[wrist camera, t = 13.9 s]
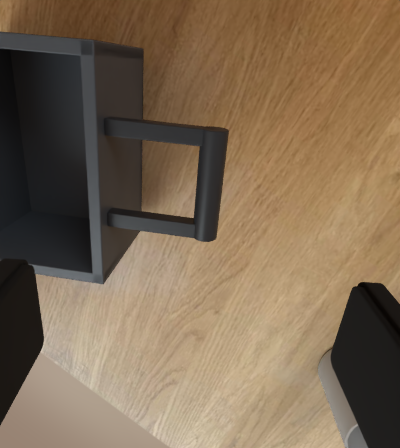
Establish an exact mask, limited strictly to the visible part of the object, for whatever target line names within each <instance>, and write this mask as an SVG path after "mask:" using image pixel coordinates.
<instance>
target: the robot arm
mask: <svg viewBox="0 0 400 448" xmlns="http://www.w3.org/2000/svg"><path fill="white" fill-rule="evenodd" d="M43 342H44V334H43V327H42V320H41V313H40V305H39V298H38V291H37V284H36V276H35V270H34V267H33V266H32V265H29V264H28V262H27V260H25V259H10V258H4V259H2V260H1V261H0V425H1V423H2V421H3V419H4V418H5V416H6V414H7V412H8V410H9V408H10V407H11V405H12V403H13V401H14V399H15V397H16V395H17V394H18V392H19V390H20V388H21V386H22V384H23V382H24V381H25V379H26V377H27V375H28V373H29V371H30V370H31V368H32V366H33V364H34V362H35V360H36V359H37V357H38V355H39V353H40V351H41V349H42V346H43ZM331 365H332V368H333V370H334V372H335V374H336V377H337V379H338V381H339V383H340V386H341V388H342V390H343V392H344V395H345V397H346V399H347V401H348V404H349V406H350V408H351V410H352V413H353V415H354V417H355V419H356V422H357V424H358V426H359V429H360V431H361V433H362V435H363V438H364V440H365V442H366V444H367V447H368V448H400V304H399V303H398V302H397V300H396V299H395V298H394V297H393V296H392V294H391V293H390V292H389V291H388V290H387V288H386V287H385V286H384V285H383V284H381V283H369V282H361V283H359V284H358V286H357V287H356V286H355V287H353V288H352V290H351V293H350V296H349V299H348V302H347V305H346V308H345V312H344V315H343V318H342V321H341V324H340V327H339V330H338V333H337V336H336V339H335V342H334V345H333V349H332V352H331Z"/></svg>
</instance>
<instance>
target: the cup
mask: <svg viewBox="0 0 400 448" xmlns="http://www.w3.org/2000/svg"><path fill="white" fill-rule="evenodd" d="M332 349H333V348H332ZM332 349H331V350H329V351H328V352H327V353H326V354H325V355H324V356H323V357H322V359H321V360H320V363H319V366H318V375H319V378H320V381H321V384H322V386H323V389H324V392H325V394H326V397H327V400H328V402H329V405H330V408H331V411H332V413H333V416H334V419H335V421H336V424H337V427H338V429H339V432H340V435H341V437H342V440H343V443H344V445H345V448H368V447H367V444H366V442H365V440H364V438H363V435H362V433H361V431H360V429H359V426H358V424H357V422H356V419H355V417H354V415H353V413H352V410H351V408H350V406H349V404H348V401H347V399H346V397H345V395H344V392H343V390H342V388H341V386H340V383H339V381H338V379H337V377H336V374H335V372H334V370H333V368H332V365H331V352H332Z"/></svg>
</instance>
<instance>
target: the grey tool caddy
mask: <svg viewBox="0 0 400 448" xmlns="http://www.w3.org/2000/svg"><path fill="white" fill-rule="evenodd" d="M228 133H229V130H227V129H225V128H220V127H204V126H195V125H186V124H177V123H167V122H158V121H149V120H143V49H142V48H137V47H131V46H125V45H120V44H114V43H108V42H103V41H97V40H90V39H78V38H67V37H56V36H44V35H33V34H21V33H10V32H0V261H1V260H2V259H4V258H10V259H25V260H27V262H28V264H29V265H32V266H33V267H34V270H35V274H40V275H46V276H53V277H59V278H66V279H72V280H79V281H85V282H92V283H98V284H104V283H105V281H106V280H107V278H108V277H109V275H110V274H111V273H112V271H113V270H114V268H115V267H116V265H117V264H118V262H119V261H120V260H121V258H122V257H123V255H124V254H125V252H126V251H127V249H128V248H129V247H130V245H131V244H132V242H133V241H134V239H135V238H136V236H137V235H138V233H139V232H140V231H146V232H153V233H161V234H168V235H175V236H182V237H190V238H195V239H196V240H199V241H203V242H210V241H213V240H215V239H216V237H217V228H218V220H219V211H220V202H221V194H222V185H223V176H224V168H225V159H226V150H227V142H228ZM142 140H149V141H158V142H167V143H176V144H185V145H193V146H200V150H199V162H198V174H197V186H196V198H195V210H194V218H188V217H180V216H173V215H165V214H158V213H150V212H142V211H141V202H142Z"/></svg>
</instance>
